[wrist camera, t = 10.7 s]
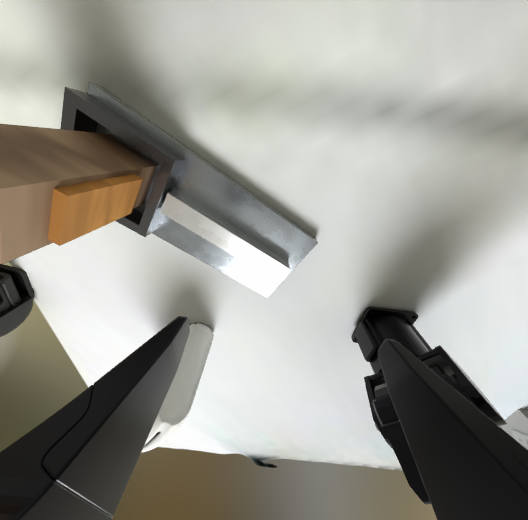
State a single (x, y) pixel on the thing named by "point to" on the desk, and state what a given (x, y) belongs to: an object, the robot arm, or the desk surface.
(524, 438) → the portable television
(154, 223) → the rail
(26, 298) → the end cap
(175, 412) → the photo printer
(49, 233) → the brown tall block
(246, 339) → the desk surface
